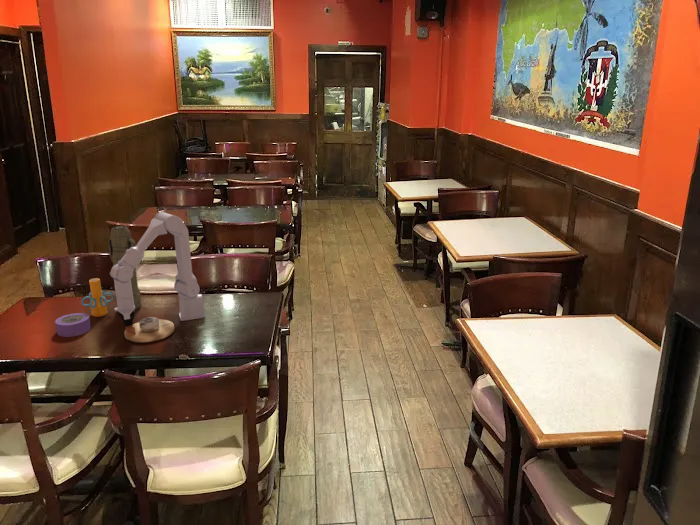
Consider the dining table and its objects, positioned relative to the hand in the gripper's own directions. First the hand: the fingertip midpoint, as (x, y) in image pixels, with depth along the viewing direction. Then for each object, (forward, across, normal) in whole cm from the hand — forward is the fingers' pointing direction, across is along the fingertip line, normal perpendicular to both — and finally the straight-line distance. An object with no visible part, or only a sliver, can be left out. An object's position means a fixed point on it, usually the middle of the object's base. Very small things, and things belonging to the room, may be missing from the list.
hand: (129, 329), depth 212 cm
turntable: (+3, 0, +7) cm, 8 cm away
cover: (+1, 0, +7) cm, 7 cm away
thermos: (+3, -30, +1) cm, 30 cm away
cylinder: (+3, -27, -11) cm, 29 cm away
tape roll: (+3, -14, -20) cm, 25 cm away
